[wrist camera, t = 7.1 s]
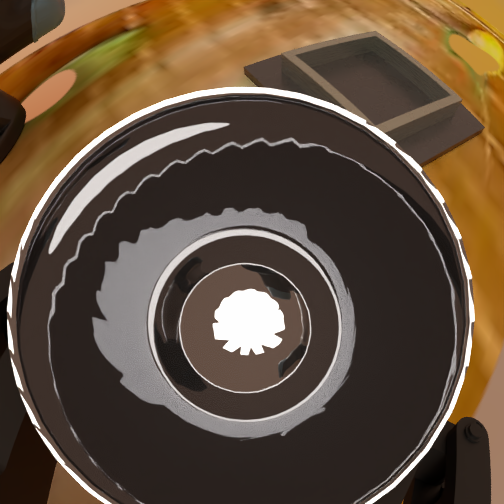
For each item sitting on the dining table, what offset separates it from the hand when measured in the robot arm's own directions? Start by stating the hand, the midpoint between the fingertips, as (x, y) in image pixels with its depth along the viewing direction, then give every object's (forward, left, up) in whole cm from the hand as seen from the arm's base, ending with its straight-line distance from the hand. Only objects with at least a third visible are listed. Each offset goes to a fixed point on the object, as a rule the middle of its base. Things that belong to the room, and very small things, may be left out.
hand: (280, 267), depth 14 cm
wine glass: (+2, -3, -6) cm, 7 cm away
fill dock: (-14, +20, -9) cm, 26 cm away
